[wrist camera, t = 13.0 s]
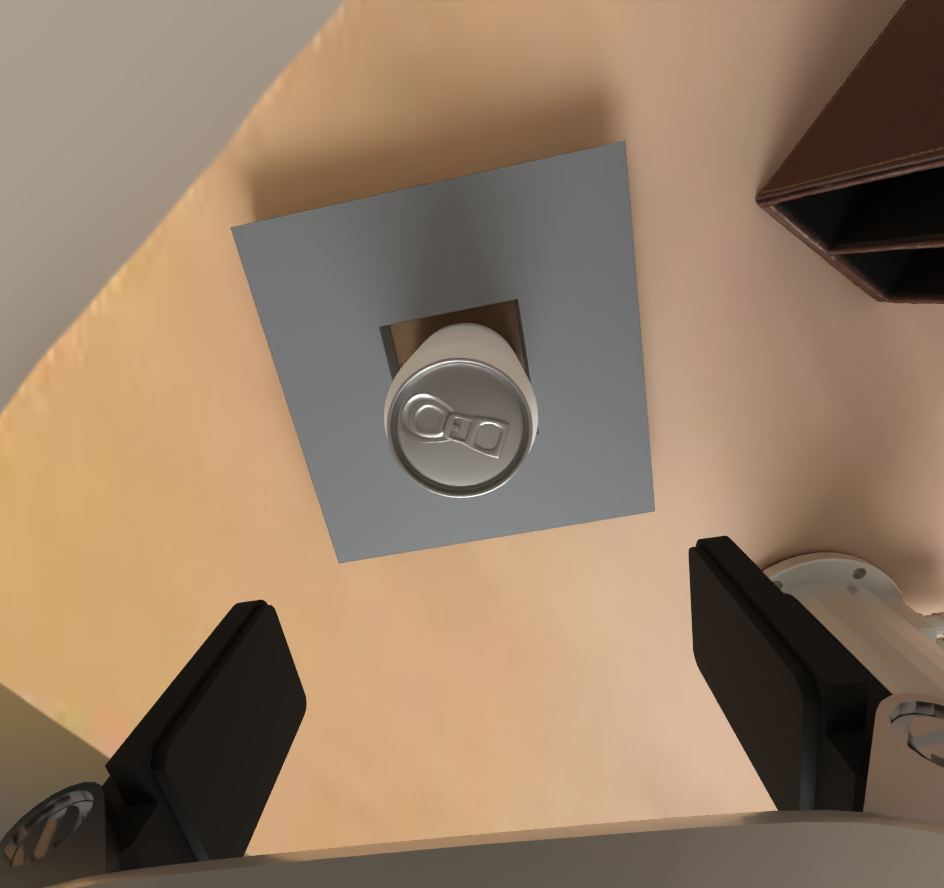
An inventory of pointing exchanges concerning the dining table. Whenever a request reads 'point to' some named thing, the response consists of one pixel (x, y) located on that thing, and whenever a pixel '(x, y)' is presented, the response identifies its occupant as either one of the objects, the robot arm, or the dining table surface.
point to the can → (461, 412)
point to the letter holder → (877, 167)
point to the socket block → (448, 290)
